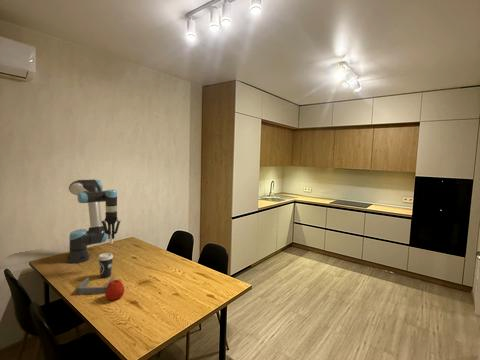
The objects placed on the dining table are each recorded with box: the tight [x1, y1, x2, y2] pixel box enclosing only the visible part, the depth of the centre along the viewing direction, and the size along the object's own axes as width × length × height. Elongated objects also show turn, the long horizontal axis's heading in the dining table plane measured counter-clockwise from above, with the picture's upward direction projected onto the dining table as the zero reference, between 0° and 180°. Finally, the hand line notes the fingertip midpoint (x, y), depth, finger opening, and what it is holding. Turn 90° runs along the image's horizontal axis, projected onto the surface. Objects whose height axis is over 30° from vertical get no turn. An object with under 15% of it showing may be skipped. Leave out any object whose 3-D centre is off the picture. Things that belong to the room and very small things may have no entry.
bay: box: [76, 276, 115, 295], centre depth 164 cm, size 14×16×4 cm
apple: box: [104, 279, 125, 301], centre depth 154 cm, size 10×10×10 cm
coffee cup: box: [97, 252, 114, 279], centre depth 180 cm, size 10×10×15 cm
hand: (111, 243), depth 190 cm, fingers closed
